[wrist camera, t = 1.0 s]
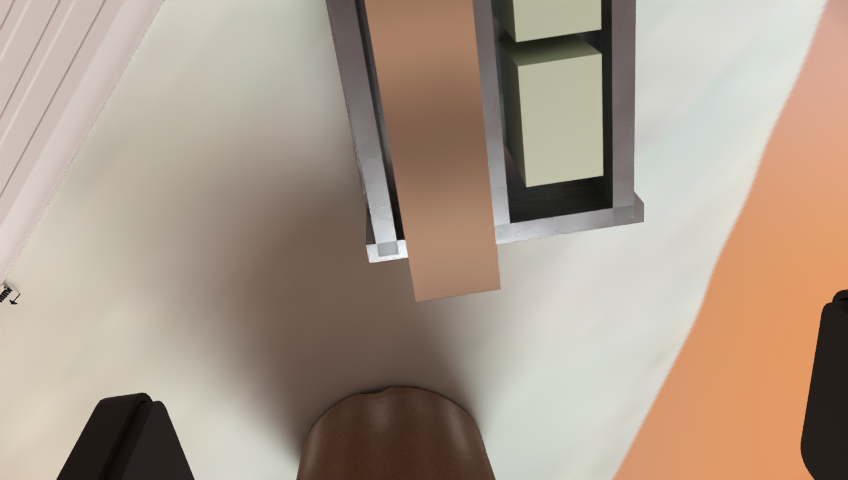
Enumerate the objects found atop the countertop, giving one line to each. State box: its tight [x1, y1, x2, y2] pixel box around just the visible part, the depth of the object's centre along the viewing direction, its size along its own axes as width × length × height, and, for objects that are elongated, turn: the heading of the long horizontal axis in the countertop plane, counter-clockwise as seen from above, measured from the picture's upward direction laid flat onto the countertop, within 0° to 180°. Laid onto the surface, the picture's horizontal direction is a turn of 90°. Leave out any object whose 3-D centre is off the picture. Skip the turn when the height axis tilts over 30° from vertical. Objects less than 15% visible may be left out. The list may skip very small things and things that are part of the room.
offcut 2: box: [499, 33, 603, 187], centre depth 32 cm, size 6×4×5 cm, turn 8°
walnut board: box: [365, 0, 501, 302], centre depth 27 cm, size 12×3×13 cm, turn 8°
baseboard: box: [0, 0, 164, 304], centre depth 31 cm, size 31×3×12 cm
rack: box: [326, 0, 644, 263], centre depth 31 cm, size 18×14×5 cm
